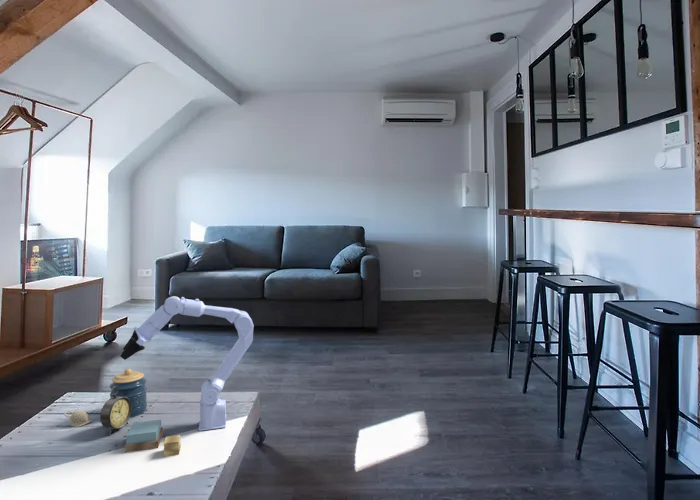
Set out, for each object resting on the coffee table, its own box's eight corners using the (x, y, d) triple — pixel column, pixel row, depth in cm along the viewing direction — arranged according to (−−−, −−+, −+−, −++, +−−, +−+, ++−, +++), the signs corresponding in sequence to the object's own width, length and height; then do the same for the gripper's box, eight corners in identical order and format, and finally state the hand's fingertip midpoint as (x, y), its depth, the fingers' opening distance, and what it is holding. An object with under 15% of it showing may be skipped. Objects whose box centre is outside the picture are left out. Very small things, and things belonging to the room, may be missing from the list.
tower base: (163, 435, 146) (162, 427, 146) (158, 449, 136) (157, 441, 136) (132, 439, 143) (132, 431, 143) (124, 454, 133) (124, 445, 133)
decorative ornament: (85, 426, 151) (85, 412, 151) (62, 427, 151) (62, 413, 151) (92, 421, 155) (91, 407, 155) (69, 422, 155) (69, 408, 155)
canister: (145, 402, 172) (144, 361, 172) (148, 414, 161) (147, 370, 160) (110, 409, 166) (108, 366, 165) (110, 422, 155) (109, 376, 154)
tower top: (161, 427, 145) (160, 419, 145) (156, 440, 136) (156, 431, 136) (133, 431, 143) (132, 422, 143) (126, 444, 134) (126, 435, 134)
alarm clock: (110, 437, 143) (109, 392, 142) (97, 436, 144) (96, 391, 143) (133, 423, 154) (132, 381, 153) (120, 422, 155) (119, 380, 154)
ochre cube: (180, 447, 136) (180, 435, 136) (178, 454, 132) (178, 441, 132) (166, 449, 135) (166, 436, 135) (164, 456, 131) (163, 443, 131)
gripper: (146, 312, 149) (117, 341, 146) (143, 322, 136) (111, 353, 133) (161, 324, 151) (133, 353, 149) (160, 335, 138) (129, 366, 135)
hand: (124, 354), depth 141 cm, fingers open, 7 cm apart
